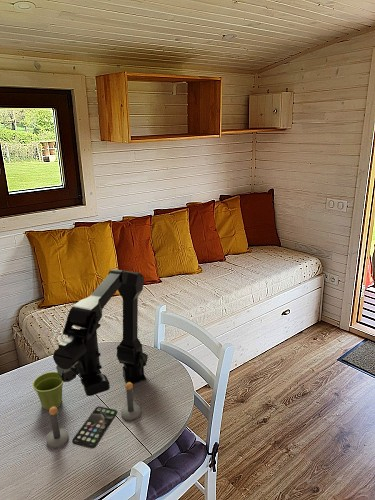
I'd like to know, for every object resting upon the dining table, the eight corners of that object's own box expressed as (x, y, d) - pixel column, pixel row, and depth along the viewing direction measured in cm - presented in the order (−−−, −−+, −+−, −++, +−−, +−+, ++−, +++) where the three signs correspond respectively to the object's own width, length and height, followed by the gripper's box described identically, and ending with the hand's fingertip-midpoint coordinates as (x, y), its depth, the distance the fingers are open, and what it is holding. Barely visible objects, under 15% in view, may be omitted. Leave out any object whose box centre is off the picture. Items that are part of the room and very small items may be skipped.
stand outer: (66, 428, 112) (62, 397, 108) (70, 443, 107) (66, 410, 103) (44, 436, 109) (39, 404, 106) (48, 451, 104) (42, 418, 101)
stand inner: (136, 404, 122) (134, 374, 118) (143, 416, 116) (142, 385, 113) (118, 410, 119) (116, 380, 115) (124, 423, 114) (122, 392, 110)
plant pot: (57, 416, 117) (54, 392, 114) (30, 411, 118) (26, 388, 116) (72, 395, 125) (69, 373, 123) (46, 391, 127) (43, 370, 124)
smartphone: (118, 410, 119) (94, 447, 105) (118, 412, 119) (94, 449, 105) (97, 405, 121) (70, 441, 107) (97, 407, 121) (70, 443, 107)
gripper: (51, 339, 108) (57, 384, 113) (63, 375, 93) (70, 426, 98) (90, 329, 113) (94, 373, 118) (108, 362, 98) (112, 412, 103)
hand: (92, 394), depth 109 cm, fingers closed
